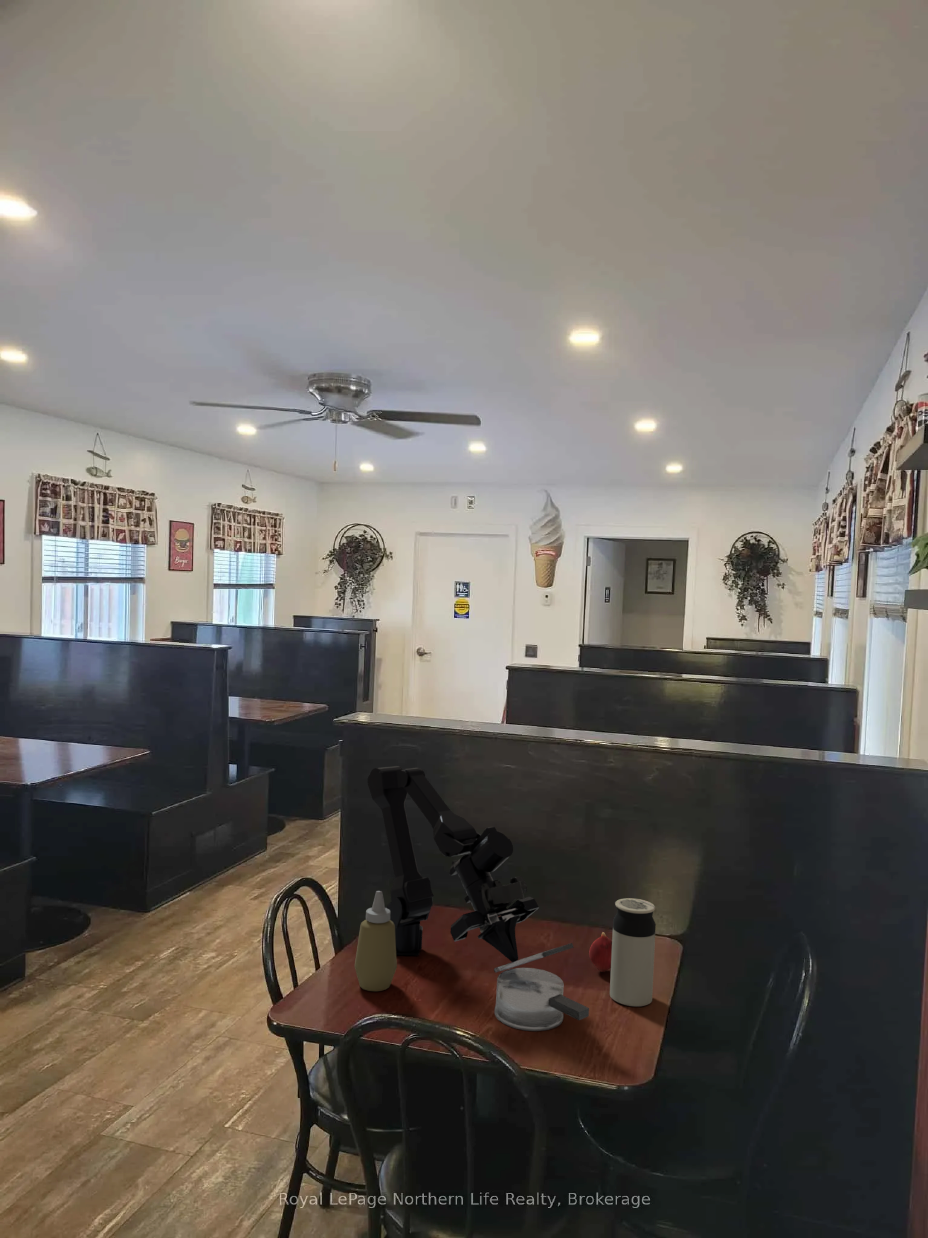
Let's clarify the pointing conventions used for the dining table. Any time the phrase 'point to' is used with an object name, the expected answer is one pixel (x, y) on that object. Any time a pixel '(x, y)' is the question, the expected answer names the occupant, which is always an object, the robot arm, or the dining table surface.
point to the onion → (601, 953)
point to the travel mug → (633, 952)
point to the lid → (534, 957)
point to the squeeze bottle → (376, 948)
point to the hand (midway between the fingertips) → (515, 961)
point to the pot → (533, 1000)
